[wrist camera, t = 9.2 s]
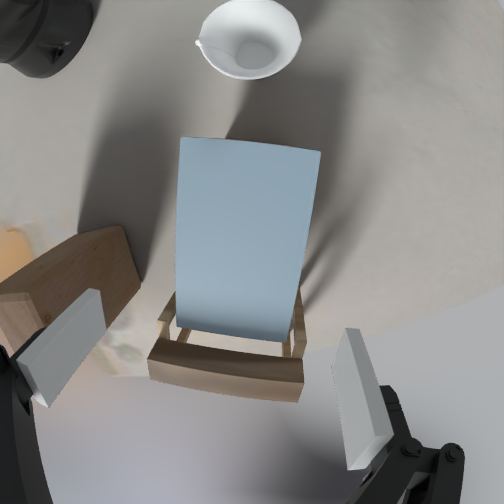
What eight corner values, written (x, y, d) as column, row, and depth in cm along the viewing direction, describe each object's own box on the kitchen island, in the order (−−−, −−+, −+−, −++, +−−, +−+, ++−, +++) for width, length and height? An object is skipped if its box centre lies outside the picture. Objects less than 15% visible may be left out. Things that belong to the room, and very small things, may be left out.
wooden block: (124, 221, 37) (26, 290, 19) (145, 286, 41) (74, 379, 22) (74, 233, 39) (-18, 294, 20) (94, 291, 42) (21, 368, 24)
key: (158, 337, 28) (146, 358, 25) (302, 358, 28) (304, 383, 25) (160, 357, 30) (150, 379, 26) (296, 378, 29) (297, 402, 26)
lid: (194, 137, 25) (180, 136, 21) (314, 150, 25) (321, 151, 21) (187, 306, 32) (176, 326, 28) (285, 320, 31) (285, 342, 28)
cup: (214, 34, 27) (193, 1, 18) (292, 29, 27) (297, -7, 17) (217, 98, 31) (194, 82, 21) (296, 94, 30) (305, 76, 20)
